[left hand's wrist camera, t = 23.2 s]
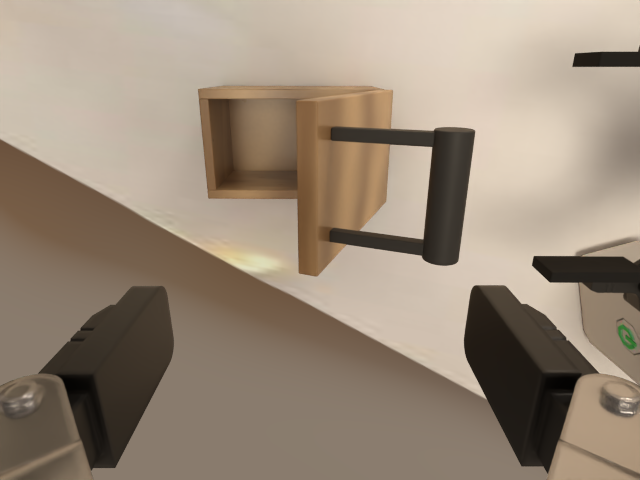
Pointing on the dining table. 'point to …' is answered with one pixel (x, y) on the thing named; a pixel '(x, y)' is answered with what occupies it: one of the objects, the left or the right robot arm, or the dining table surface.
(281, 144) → the chest
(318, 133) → the lid
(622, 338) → the electronic device
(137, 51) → the dining table surface
